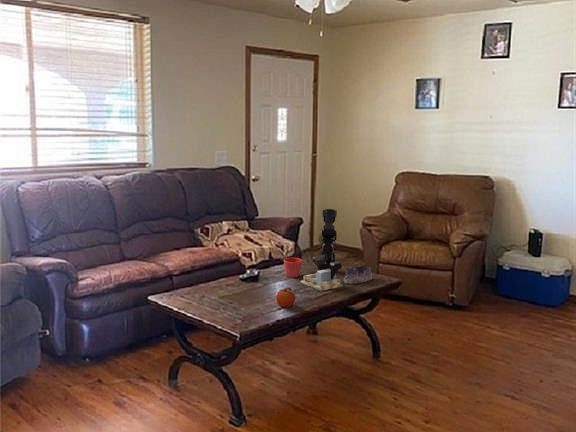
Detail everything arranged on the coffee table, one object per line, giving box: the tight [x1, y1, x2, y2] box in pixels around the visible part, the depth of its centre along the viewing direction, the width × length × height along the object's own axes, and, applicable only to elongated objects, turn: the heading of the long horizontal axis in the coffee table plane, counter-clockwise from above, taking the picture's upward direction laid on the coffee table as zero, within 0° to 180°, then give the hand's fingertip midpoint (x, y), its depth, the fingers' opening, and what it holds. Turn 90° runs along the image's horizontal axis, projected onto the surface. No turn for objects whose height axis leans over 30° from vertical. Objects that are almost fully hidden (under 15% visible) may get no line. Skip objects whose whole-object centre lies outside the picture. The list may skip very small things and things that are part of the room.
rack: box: [300, 272, 344, 292], centre depth 335 cm, size 16×18×4 cm
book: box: [315, 269, 337, 286], centre depth 332 cm, size 11×4×8 cm, turn 127°
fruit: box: [275, 287, 296, 308], centre depth 295 cm, size 10×10×10 cm
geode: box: [343, 265, 373, 285], centre depth 344 cm, size 20×12×10 cm, turn 138°
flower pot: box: [283, 257, 303, 278], centre depth 349 cm, size 11×11×10 cm
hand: (326, 277), depth 331 cm, fingers open, 9 cm apart
